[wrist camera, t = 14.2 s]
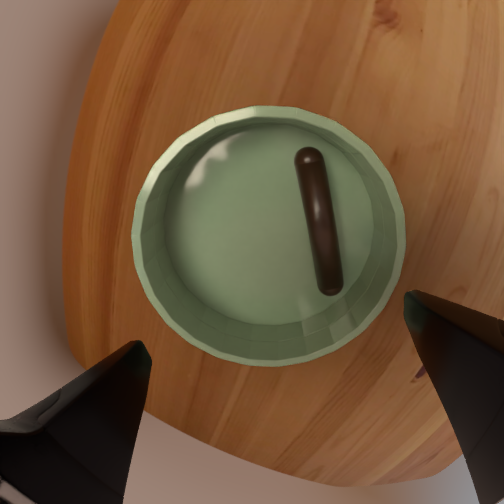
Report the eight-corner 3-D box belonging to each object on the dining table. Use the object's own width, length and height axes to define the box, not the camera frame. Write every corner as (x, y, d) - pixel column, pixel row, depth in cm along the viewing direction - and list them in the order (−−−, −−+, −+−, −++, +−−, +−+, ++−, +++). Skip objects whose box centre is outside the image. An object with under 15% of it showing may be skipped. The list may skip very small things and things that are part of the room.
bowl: (383, 304, 20) (404, 338, 16) (197, 339, 22) (185, 377, 18) (357, 99, 15) (383, 86, 11) (133, 153, 17) (99, 157, 13)
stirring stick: (330, 304, 18) (313, 295, 19) (350, 293, 18) (333, 285, 20) (301, 147, 14) (284, 150, 16) (326, 142, 15) (308, 145, 17)
